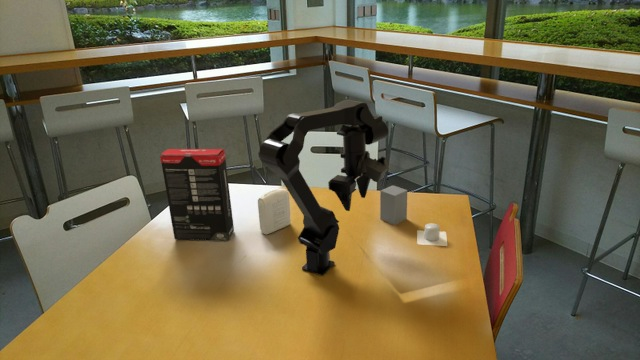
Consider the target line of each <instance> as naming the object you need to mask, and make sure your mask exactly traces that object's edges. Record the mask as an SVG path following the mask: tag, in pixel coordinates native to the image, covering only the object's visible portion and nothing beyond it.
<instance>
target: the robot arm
mask: <svg viewBox="0 0 640 360" xmlns="http://www.w3.org/2000/svg"><path fill="white" fill-rule="evenodd" d="M369 108H370V107H369V105H368V103H367V102H363V101H356V100H351V99H344V100H342V101H338V102H336V103H335V105H334V106H331V107H328V108H322V109H316V110H315V109H314V110H311V111H305V112H304V111H303V112H300V113H296V112H295V113H289V114H288V115H287V116H286V117H285V119H284V120H283V122H282V123H280V124H279V125H278V126H277V127H276V128H274V129H273V130H272V131H271V132H270V133H269V134H268V136H267V137H266V139H265V140H264V141H263V143H262V144H261V145H260V147H259V151H258V157H259V160H260V161H261V162H262V164H264V165H265V166H266V167H267V169H269V170H270V171H271V172H273V173H274V174H275V175H276V176H278V178H280V180H281V182H282V183H283V185H284V187H285V188H286V190H287V192H288V194H289V195H290V196H291V197H292V199H293V201H294V203H295V205H296V206H297V207H298V209H299V210H300V212H301V214H302V215H303V219H302V224H303V228H302V230H301V232H300V233H299V234H298V235H299V236H297V240H298V242H299V244H300V245H303V246H305V247H306V248H305V259H306V263H305V264H303V266H302V267H301V269H302V271H307V272H309V273H314V274H317V275H320V276H323V275H325V274H326V273H327V272H328V271H329V270H330V269H331V268H332V267H333V266H335V263H336V262H335V261H334V260H330V259H331V257H330V256H331V255H330V251H333V250H334V249H335V248H336V245H337V241H338V237H339V230H340V225H339V223H340V221H339V220H338V219H337V218H336V215H335V212H333V210H330V209H328V208H325V207H323V206H321V205H320V204H319V202H318V200H317V199H316V196H315V195H314V194H313V192H312V190H311V188H310V186H309V185H308V183H307V181H306V179H305V177H304V176H303V175H302V174H303V173H302V172H301V171H300V163H301V161H300V158H299V155H300V154H301V152H302V150H303V148H304V145H305V138H306V135H307V134H308V132H310V131H315V130H320V129H324V128H329V127H335V126H338V125H341V127H340V128H339V129H338V130H337V132H336V135H337V136H342V145H343V152H342V153H340V158H341V159H343V167H342V168H340V173H342V174H345V175H340V174H337V175H335V176H334V177H332V178H331V179H330V180H329V181H328V183H327V184H328V190H329V191H332V192H334V193H335V194H336V196H337V198H338V199H339V201H340V203H341V205H342V206H343V209H344V210H345V211H346V212H350V211H351V205H352V195H353V193H355V192H356V191H357V190H358V193H359V195H360V198H362V199H365V198H366V196H367V192H368V189H369V186H370V183H371V181H373V182H374V183H379V182H380V181H381V180H382V179H384V178H385V175H386V172H387V171H388V170H389V165H388V164H389V163H388V158H387V157H385V156H383V155H382V156H380V157H379V158H378V159H377V158H374V159H373V158H371V154H370V151H369V150H366V149H367V148H366V147H367V146H366V145H368V146H370V145H372V144H375V143H378V142H380V141H383V140H386V139H387V137H388V134H389V128H388V125H387V124H386V122H385V121H383V116H381V115H377V114H375V115H373V114H372V112H371V111H370V109H369ZM290 135H292V139H291V141H290V143H287V142H284V140H285V139H287V138H288V137H289V136H290ZM356 187H357V188H358V189H357V188H356Z"/></svg>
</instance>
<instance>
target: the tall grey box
mask: <svg viewBox="0 0 640 360" xmlns="http://www.w3.org/2000/svg"><path fill="white" fill-rule="evenodd" d="M379 193H380V194H379V195H380V199H379V201H380V203H379V204H380V207H379V208H380V210H379V211H380V213H379V214H380V215H379V216H380V220H381V221H384V222H386V223H388V224H390V225H393V226H396V225H398V224H400V223H402V222H404V221H406V220H407V218H408V190H407V189H406V188H405V189H404V188H401V187H399V186H396V185H391V186H390V185H389V186H388V187H386V188H383V189H381V190H380V192H379Z"/></svg>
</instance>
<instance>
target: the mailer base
mask: <svg viewBox="0 0 640 360" xmlns="http://www.w3.org/2000/svg"><path fill="white" fill-rule="evenodd" d="M416 236H417V237H416V238H417V239H416V240H417V241H416V244H417V245H418V246H419V245H422V246H423V245H424V246H439V247H440V246H441V247H442V246H443V247H448V241H447V240H448V239H447V232H446V231H441V226H440V225H439V224H437V223H434V222H433V223H426V224H425V226H424V230H419V229H417V231H416Z"/></svg>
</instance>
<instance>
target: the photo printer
mask: <svg viewBox="0 0 640 360" xmlns="http://www.w3.org/2000/svg"><path fill="white" fill-rule="evenodd" d="M290 203H291V202H290V193H289V191H288V190H287V189H285V188H275V189H272V190H269V191H267V192H265V193H264V194H263V195H261V196H260V197H259V198H258V199H257V207H258V208H257V209H258V220H259V229H260V232H261V233H262V234H264V235H268V234H272V233H274V232H276V231H279V230H281V229H283V228H286V227H288V226H290V225H291V224H292V223H291V220H292V219H291V205H290Z"/></svg>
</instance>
